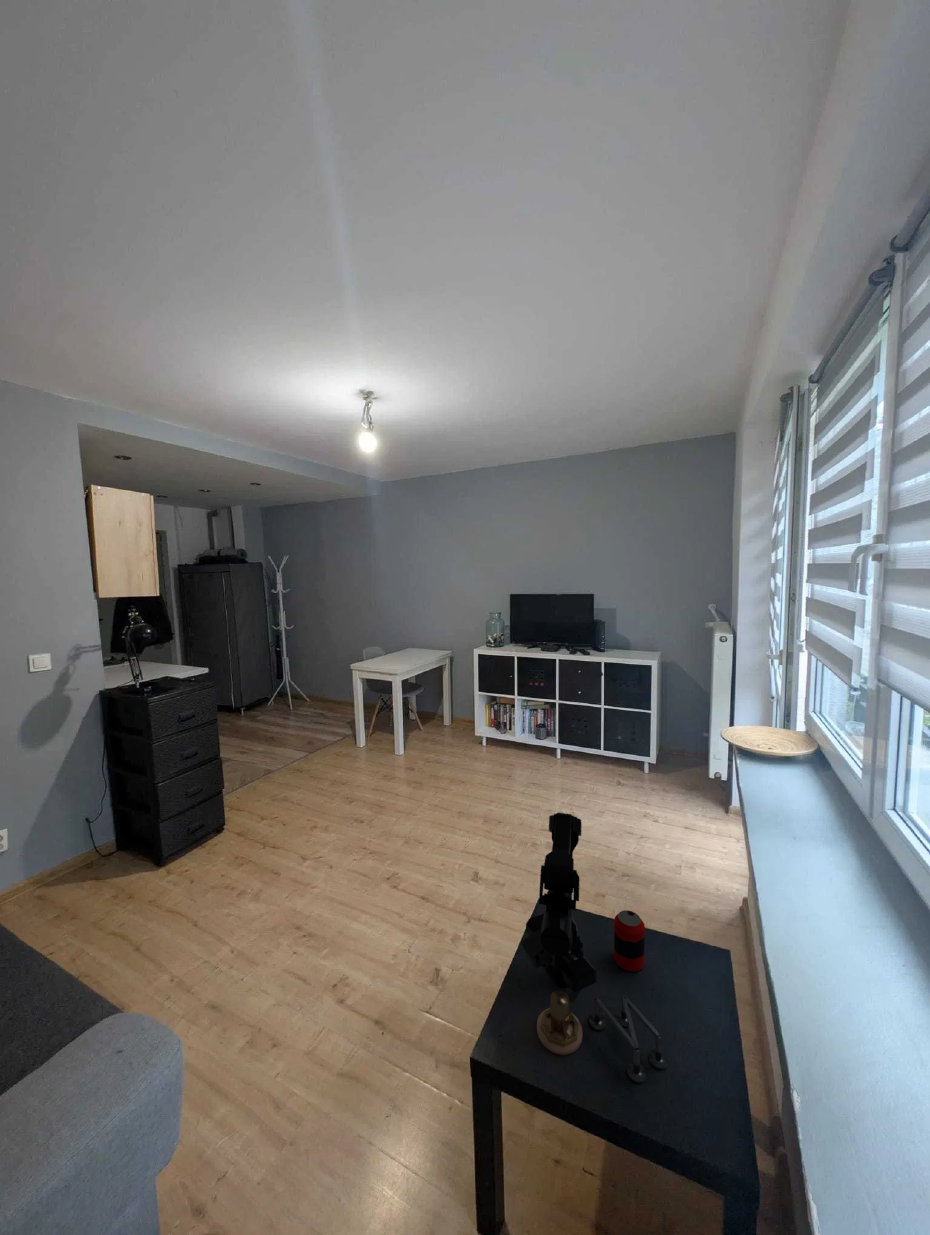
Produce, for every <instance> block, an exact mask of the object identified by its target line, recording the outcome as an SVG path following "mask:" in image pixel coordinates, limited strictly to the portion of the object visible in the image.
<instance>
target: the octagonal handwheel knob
mask: <svg viewBox="0 0 930 1235" xmlns="http://www.w3.org/2000/svg"><path fill="white" fill-rule="evenodd" d="M549 998H550V1000H549V1001H550V1008H551V1009H549V1010H547V1011H544V1010H543V1011H544V1012H543V1011H542V1012H543V1016H542V1020H541V1025H540V1026H541V1030H542V1032H543V1033H544V1035H545V1036H546V1038H547V1039H548V1041H549V1042H551V1043H554V1044H557V1045H560V1046H563V1047H565V1046H567V1045H569V1044H571V1043H573V1042H575V1041H577V1036H578V1029H579V1023H578V1021H577V1020H576V1019H575V1017H574V1016H573V1015H572V1011H570V1009H569V1006H570V1005H569V1004H570V1001H569V995H568V994H566V992H564V991H561V990H555V991H553V992H552V993H551V994H550V997H549ZM549 1016H550V1017H551V1027H549V1028H546V1027H545V1023H546V1018H547V1017H549ZM572 1023H573V1025H574V1026H575V1027H574V1034H573V1035H571V1036H569V1034H568V1033H567V1030H568V1028H569V1025H570V1024H572ZM554 1032H559V1033H562V1035H563V1036H564V1037H565V1039H560V1038H557V1037H554V1036H551V1034H552V1033H554Z"/></svg>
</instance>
